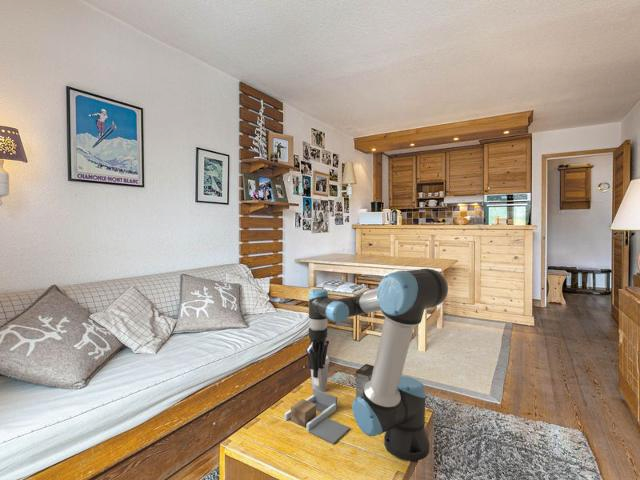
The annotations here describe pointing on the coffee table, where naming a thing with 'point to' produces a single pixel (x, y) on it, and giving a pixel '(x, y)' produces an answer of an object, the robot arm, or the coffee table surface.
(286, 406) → the coffee table surface
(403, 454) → the robot arm
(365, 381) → the coffee box
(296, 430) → the coffee table surface
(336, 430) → the slate coaster
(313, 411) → the walnut block
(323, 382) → the coffee cup
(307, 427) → the channel
